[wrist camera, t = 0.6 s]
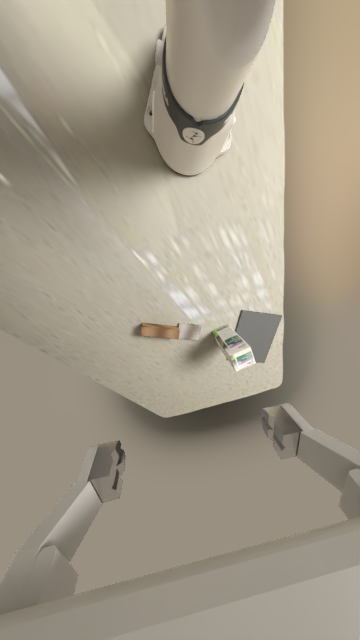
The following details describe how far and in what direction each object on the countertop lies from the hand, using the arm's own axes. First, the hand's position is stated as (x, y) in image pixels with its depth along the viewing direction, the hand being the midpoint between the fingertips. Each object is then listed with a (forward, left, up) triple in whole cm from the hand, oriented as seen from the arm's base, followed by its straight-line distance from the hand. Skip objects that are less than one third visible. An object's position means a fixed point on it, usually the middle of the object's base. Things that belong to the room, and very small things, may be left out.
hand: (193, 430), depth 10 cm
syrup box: (+12, +20, -42) cm, 48 cm away
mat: (+12, +31, -42) cm, 54 cm away
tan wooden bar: (+12, +4, -42) cm, 44 cm away
